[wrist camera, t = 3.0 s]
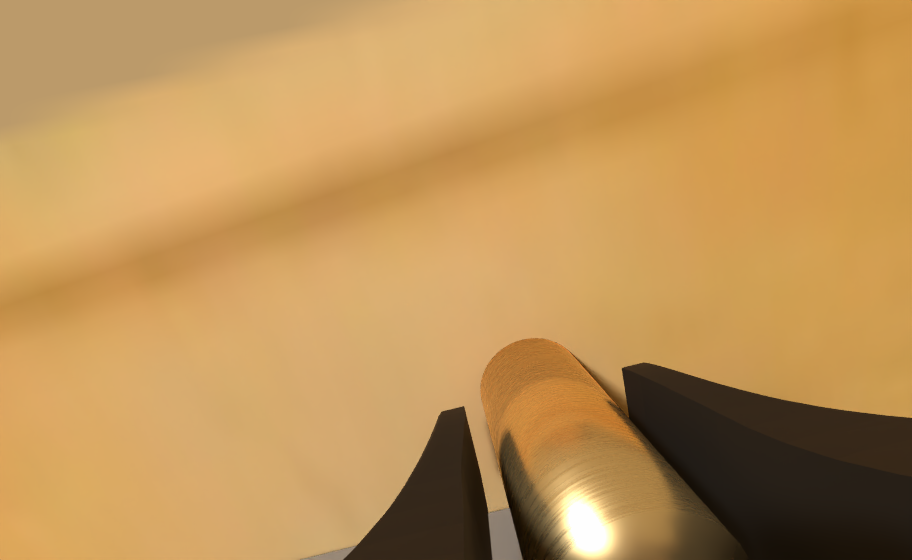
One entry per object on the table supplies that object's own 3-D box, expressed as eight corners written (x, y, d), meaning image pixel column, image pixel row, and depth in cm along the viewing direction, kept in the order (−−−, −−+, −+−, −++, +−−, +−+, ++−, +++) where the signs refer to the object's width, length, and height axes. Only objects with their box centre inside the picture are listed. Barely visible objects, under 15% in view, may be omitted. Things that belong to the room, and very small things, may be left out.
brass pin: (492, 444, 13) (560, 713, 6) (470, 352, 13) (521, 543, 6) (590, 420, 13) (760, 662, 6) (573, 327, 13) (745, 487, 6)
